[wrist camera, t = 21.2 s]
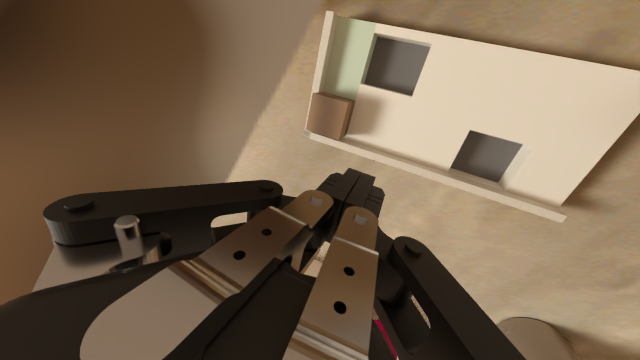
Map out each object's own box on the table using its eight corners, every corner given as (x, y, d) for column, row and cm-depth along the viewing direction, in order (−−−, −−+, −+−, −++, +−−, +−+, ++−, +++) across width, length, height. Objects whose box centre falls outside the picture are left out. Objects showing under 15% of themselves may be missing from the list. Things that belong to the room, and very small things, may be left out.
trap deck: (642, 77, 23) (693, 76, 19) (541, 203, 31) (561, 223, 26) (338, 20, 32) (326, 10, 27) (315, 130, 39) (303, 136, 35)
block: (355, 100, 32) (348, 102, 28) (346, 134, 34) (338, 140, 31) (323, 91, 33) (312, 92, 30) (316, 125, 35) (305, 129, 32)
